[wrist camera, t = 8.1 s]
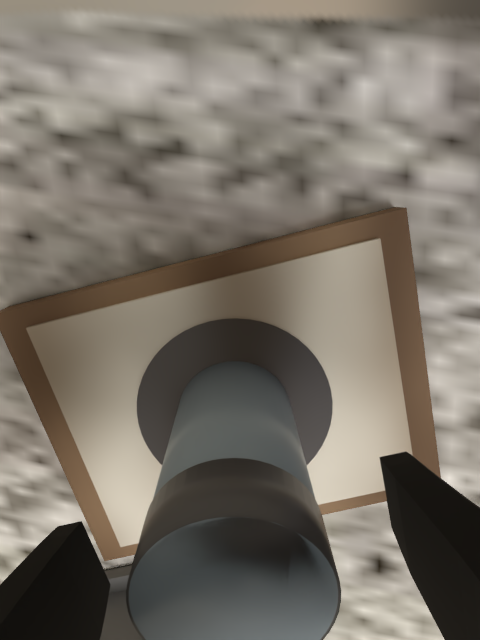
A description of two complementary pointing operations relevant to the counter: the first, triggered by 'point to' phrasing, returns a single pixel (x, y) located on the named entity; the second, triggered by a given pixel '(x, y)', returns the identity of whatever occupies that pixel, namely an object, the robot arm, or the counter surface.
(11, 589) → the robot arm
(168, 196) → the counter surface
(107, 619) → the button housing
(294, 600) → the grey canister
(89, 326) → the cream rectangular board
